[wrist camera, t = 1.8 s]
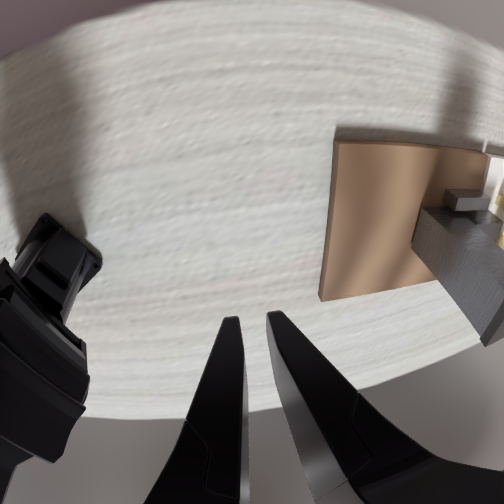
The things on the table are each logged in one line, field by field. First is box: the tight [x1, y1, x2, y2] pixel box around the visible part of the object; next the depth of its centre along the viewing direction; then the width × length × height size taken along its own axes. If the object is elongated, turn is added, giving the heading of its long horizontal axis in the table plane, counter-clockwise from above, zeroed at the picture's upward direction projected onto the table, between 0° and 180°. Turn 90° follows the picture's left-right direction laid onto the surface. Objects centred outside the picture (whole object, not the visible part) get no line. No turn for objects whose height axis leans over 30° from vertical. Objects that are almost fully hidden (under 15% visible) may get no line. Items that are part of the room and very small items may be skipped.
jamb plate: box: [481, 153, 504, 235], centre depth 24 cm, size 9×14×1 cm, turn 2°
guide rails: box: [443, 189, 491, 211], centre depth 22 cm, size 5×7×2 cm
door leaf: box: [318, 140, 488, 302], centre depth 23 cm, size 16×14×1 cm
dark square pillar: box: [411, 206, 504, 347], centre depth 18 cm, size 10×4×12 cm, turn 92°
